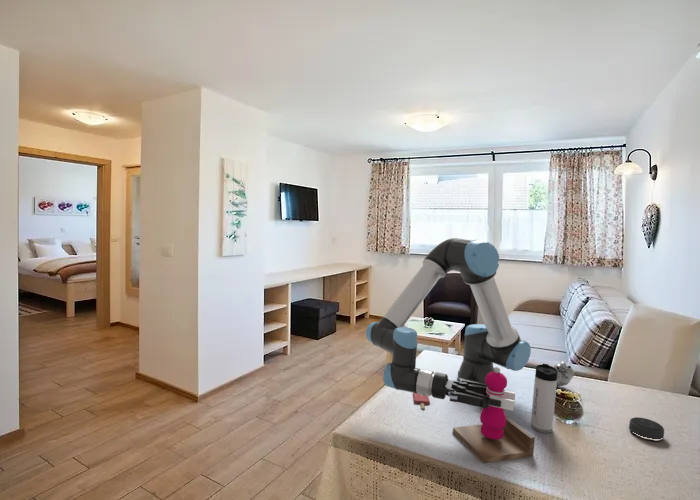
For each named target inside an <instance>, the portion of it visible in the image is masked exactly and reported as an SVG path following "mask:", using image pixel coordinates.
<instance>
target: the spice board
mask: <svg viewBox="0 0 700 500" xmlns="http://www.w3.org/2000/svg"><path fill="white" fill-rule="evenodd" d="M505 416H506V425H505V427H504V428H503V430H504V433H503V438H501V439H490V438H487V437H485V436H484V435H483V434H482V433H481V425H482V423H481V424H474V425H465V426H463V425H462V426H454V427H452V433H453V434H454V435H455V436H456V437H457V438H458V439H459V441H461V443H463V444H464V445H465V446H466V448H468V449H469V450H470V451H471V452H472V454H474V455H475V456H476V457H477V458H478V459H479V460H480V462H481V463H482V464H485V462H487V463H493V461H495V462H500V461H508V460H516V459H522V458H524V459H525V458H530V457H534V452H535V451H534V450H535V440H536V437H535V436H534V435H533V434H531V433H530V432H529V431H527V430H526V429H525V428H523V427H521V426H520V425H519V424H517V423H516V421H514V420H513V419H511V418H510V417H509V416H507V415H506V414H505Z"/></svg>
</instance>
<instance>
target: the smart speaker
mask: <svg viewBox="0 0 700 500" xmlns="http://www.w3.org/2000/svg"><path fill="white" fill-rule="evenodd" d="M628 429H630V430H631V431H632V432H634V433H636V434H638V435H640V436H643V437H647V438H652V439H661V438H663V437H664V438H665V428H664V427H663V425H662V424H660V423H658V422H656V421H654V420H652V419H650V418H649V419H648V418H646V417H645V418H644V417H639V416H638V417H637V416H636V417H632V418H630V420H629V424H628ZM630 430H629V431H630ZM631 431H630V432H631ZM632 432H631V433H632ZM664 438H663V439H664Z"/></svg>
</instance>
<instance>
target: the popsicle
mask: <svg viewBox="0 0 700 500" xmlns="http://www.w3.org/2000/svg"><path fill="white" fill-rule="evenodd" d="M412 394H413V403H414V404H416V405H420V407H421V409H422V410H425V409H426V407H425V405H426V406H427V405H429V406H430V405H431V401H430V398H429V397H430V396H426V395H425V396H422V395H421V394H417V393H413V392H412Z"/></svg>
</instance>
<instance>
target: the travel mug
mask: <svg viewBox="0 0 700 500" xmlns="http://www.w3.org/2000/svg"><path fill="white" fill-rule="evenodd" d="M557 372H558V371H557V369H555V368H554V366H552V365H549V363H548V364H547V363H542V364H537V365H536V366H535V373H534V385H533V395H532V405H531V406H532V409H531V419H530V426H531V428H532V429H533V430H534V431H536V432H539V433H542V434H548V433H550V434H551V433H552V432H553V427H554V417H555V406H556V405H555V404H556V393H557V386H556V385H557Z"/></svg>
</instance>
